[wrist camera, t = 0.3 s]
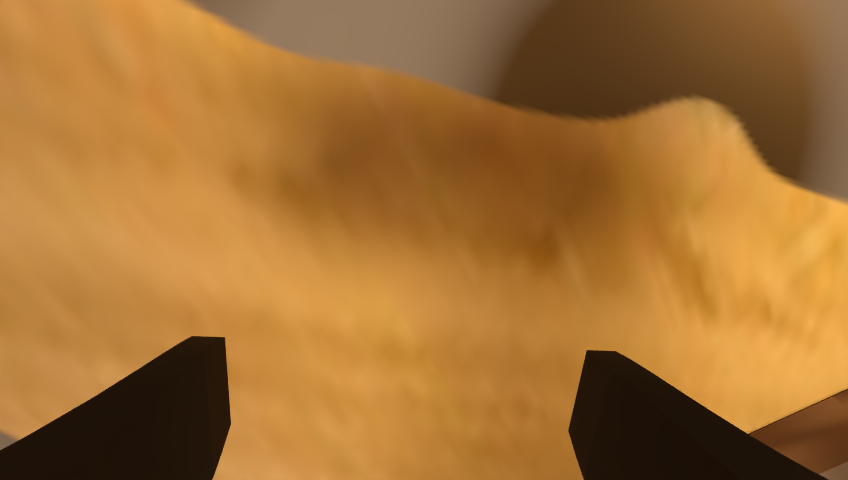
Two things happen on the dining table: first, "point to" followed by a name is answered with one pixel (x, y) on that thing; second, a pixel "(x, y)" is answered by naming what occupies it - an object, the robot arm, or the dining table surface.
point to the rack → (814, 437)
